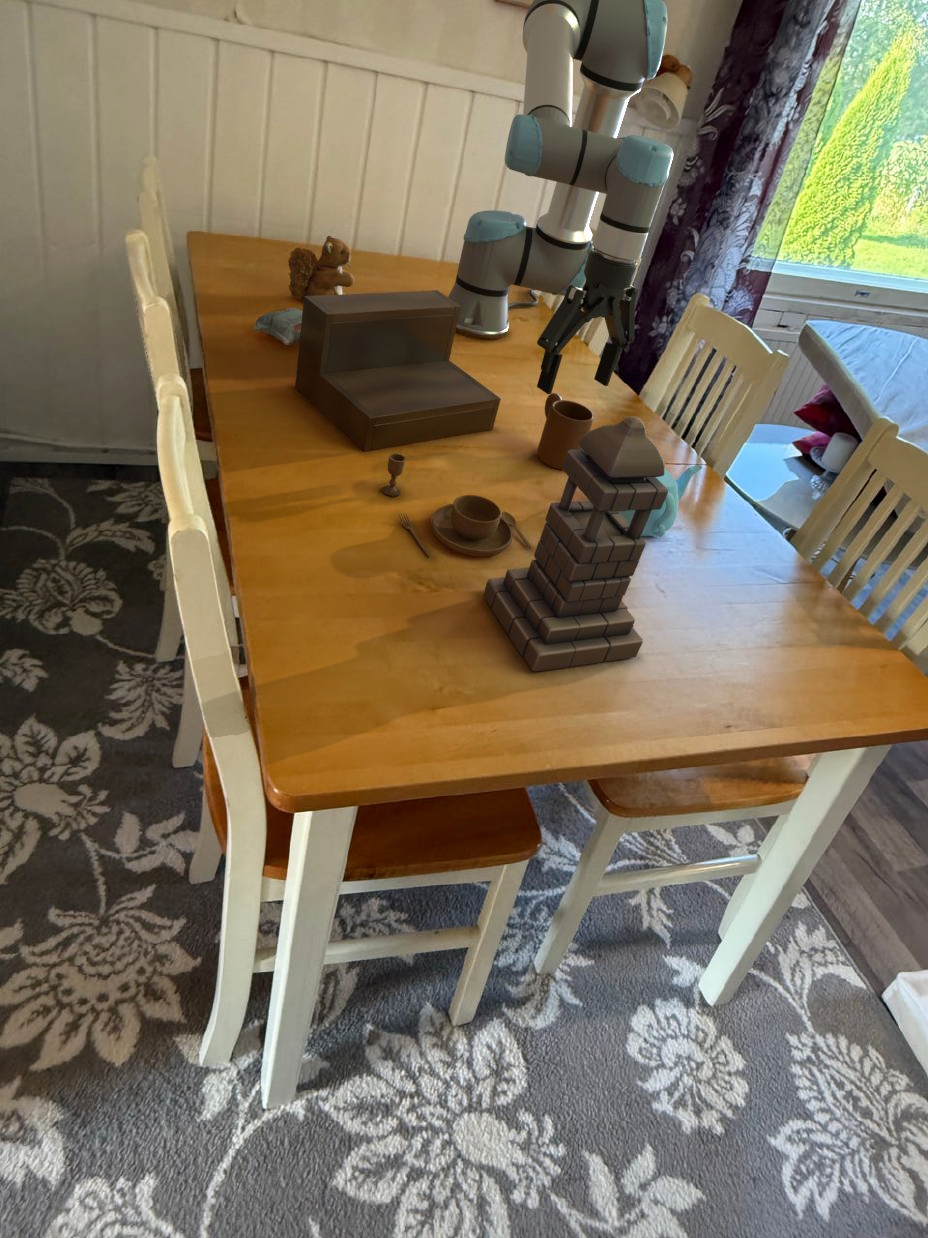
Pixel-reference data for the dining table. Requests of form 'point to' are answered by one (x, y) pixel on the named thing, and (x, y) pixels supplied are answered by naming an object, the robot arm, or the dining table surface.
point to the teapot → (665, 504)
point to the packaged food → (282, 325)
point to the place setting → (462, 520)
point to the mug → (562, 429)
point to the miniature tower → (585, 555)
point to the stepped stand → (389, 368)
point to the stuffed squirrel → (320, 270)
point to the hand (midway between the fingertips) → (573, 386)
